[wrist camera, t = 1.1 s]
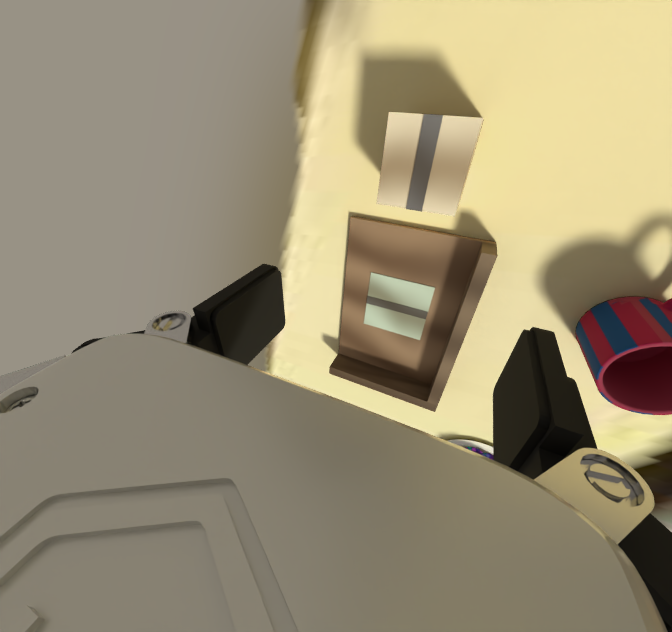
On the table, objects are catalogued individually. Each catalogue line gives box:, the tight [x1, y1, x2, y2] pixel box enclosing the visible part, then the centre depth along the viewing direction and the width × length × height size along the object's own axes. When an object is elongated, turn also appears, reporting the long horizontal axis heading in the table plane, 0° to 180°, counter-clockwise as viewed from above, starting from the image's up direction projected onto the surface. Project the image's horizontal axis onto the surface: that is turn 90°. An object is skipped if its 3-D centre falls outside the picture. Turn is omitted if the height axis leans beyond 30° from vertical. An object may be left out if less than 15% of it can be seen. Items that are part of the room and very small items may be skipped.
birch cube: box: [377, 112, 484, 216], centre depth 23 cm, size 6×6×6 cm
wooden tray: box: [329, 216, 497, 412], centre depth 33 cm, size 20×14×4 cm
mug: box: [576, 297, 672, 415], centre depth 22 cm, size 7×10×7 cm
